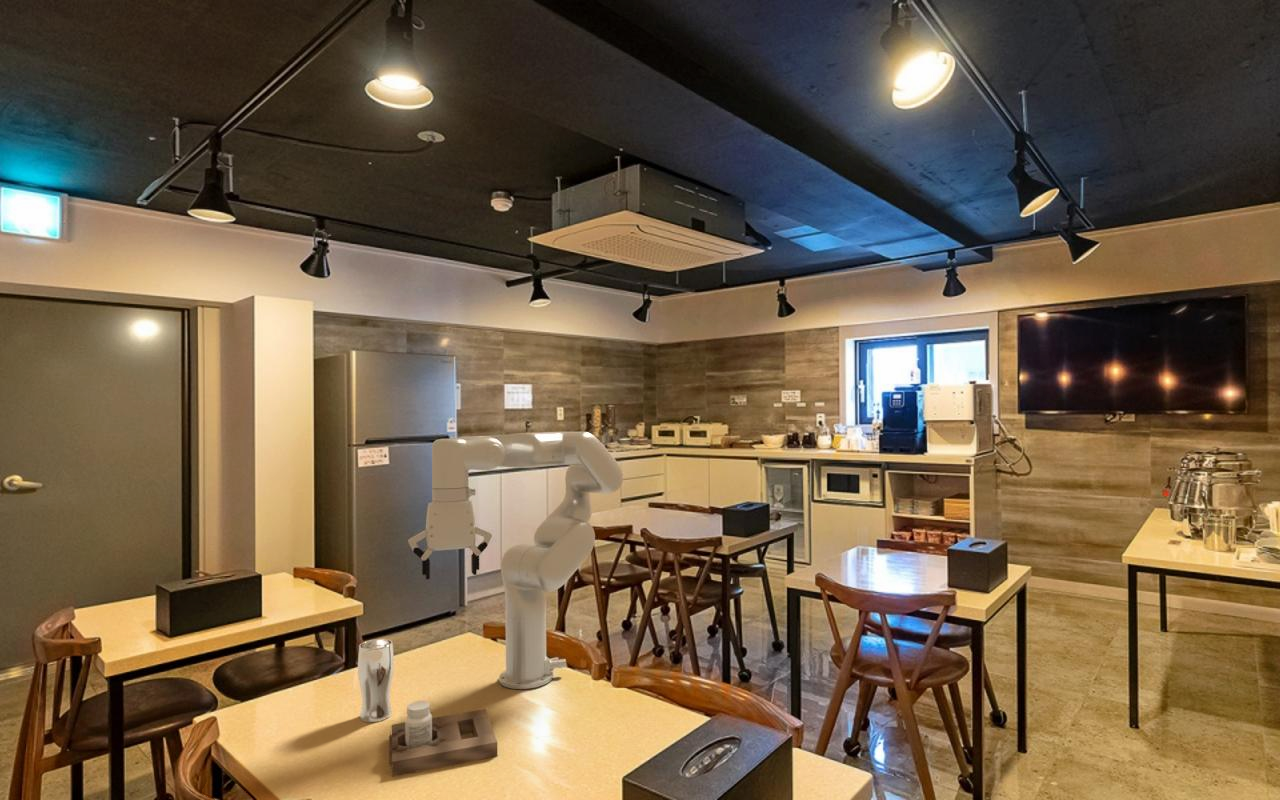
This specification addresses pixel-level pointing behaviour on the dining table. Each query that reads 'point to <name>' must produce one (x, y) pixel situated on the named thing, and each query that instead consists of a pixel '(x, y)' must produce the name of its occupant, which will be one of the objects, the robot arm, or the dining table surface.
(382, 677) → the beer glass
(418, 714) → the pill bottle
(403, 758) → the socket plate
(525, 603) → the robot arm
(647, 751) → the dining table surface
